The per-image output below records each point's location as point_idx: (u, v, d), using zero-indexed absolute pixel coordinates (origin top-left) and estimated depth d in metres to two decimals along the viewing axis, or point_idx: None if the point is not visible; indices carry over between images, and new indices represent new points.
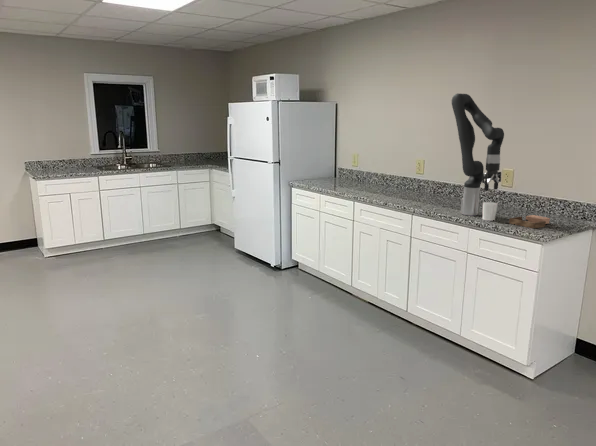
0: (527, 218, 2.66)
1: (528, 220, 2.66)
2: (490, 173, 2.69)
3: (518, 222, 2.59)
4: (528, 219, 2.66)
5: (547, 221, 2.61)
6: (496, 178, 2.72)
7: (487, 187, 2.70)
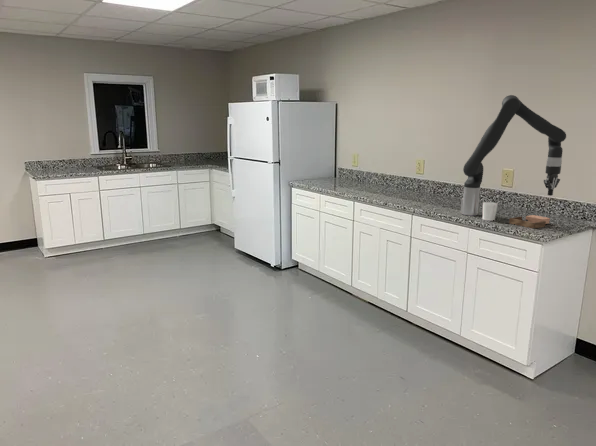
0: (527, 218, 2.66)
1: (528, 220, 2.66)
2: (550, 176, 2.62)
3: (518, 222, 2.59)
4: (528, 219, 2.66)
5: (547, 221, 2.61)
6: (554, 182, 2.64)
7: (551, 192, 2.65)
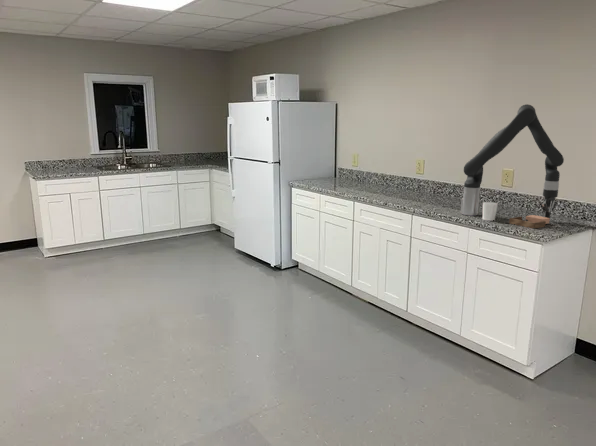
0: (527, 218, 2.66)
1: (528, 220, 2.66)
2: (548, 200, 2.64)
3: (518, 222, 2.59)
4: (528, 219, 2.66)
5: (547, 221, 2.61)
6: (552, 205, 2.67)
7: (548, 215, 2.68)
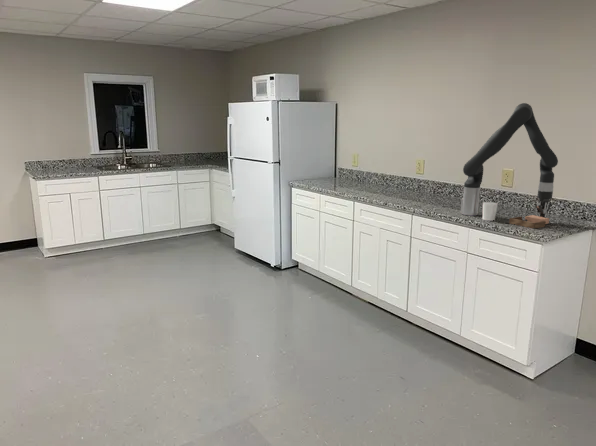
0: (526, 218, 2.66)
1: (527, 220, 2.65)
2: (542, 201, 2.62)
3: (518, 222, 2.59)
4: (527, 219, 2.66)
5: (547, 221, 2.61)
6: (546, 206, 2.65)
7: (543, 216, 2.66)
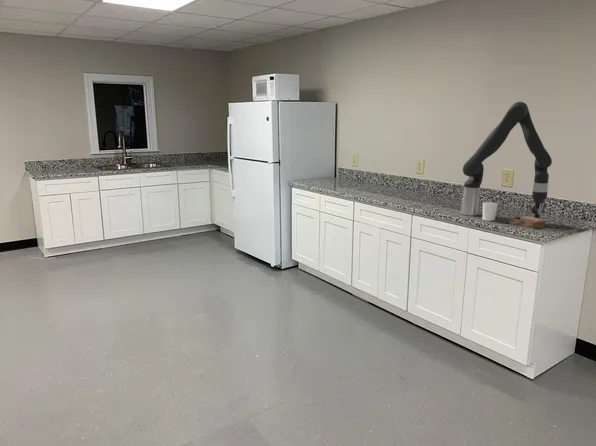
0: (521, 219, 2.63)
1: None
2: (537, 202, 2.59)
3: (518, 222, 2.59)
4: (522, 220, 2.63)
5: None
6: (541, 207, 2.62)
7: (537, 217, 2.63)
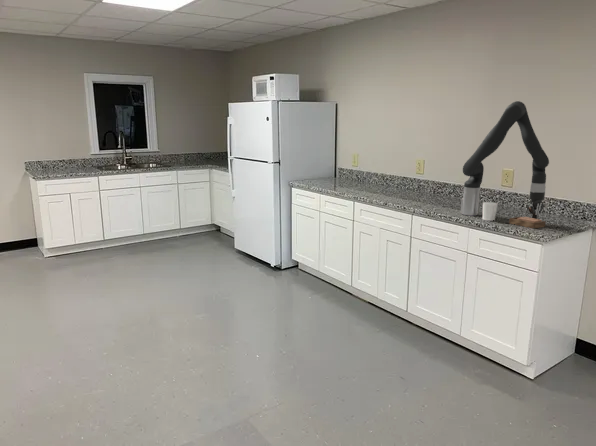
0: None
1: None
2: (534, 202, 2.58)
3: (518, 222, 2.59)
4: None
5: None
6: (538, 207, 2.60)
7: (535, 218, 2.61)
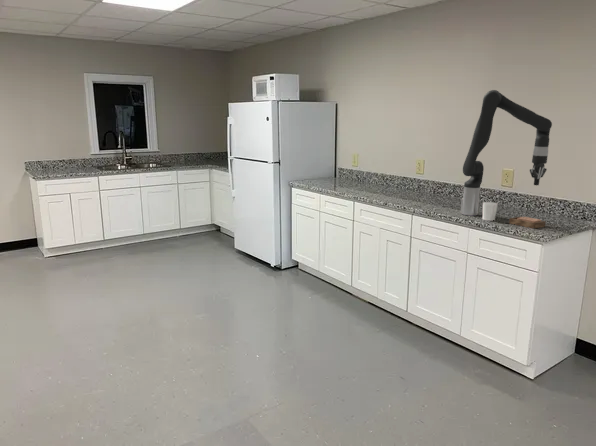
0: None
1: None
2: (537, 166, 2.59)
3: (518, 222, 2.59)
4: None
5: None
6: (541, 171, 2.61)
7: (537, 182, 2.62)
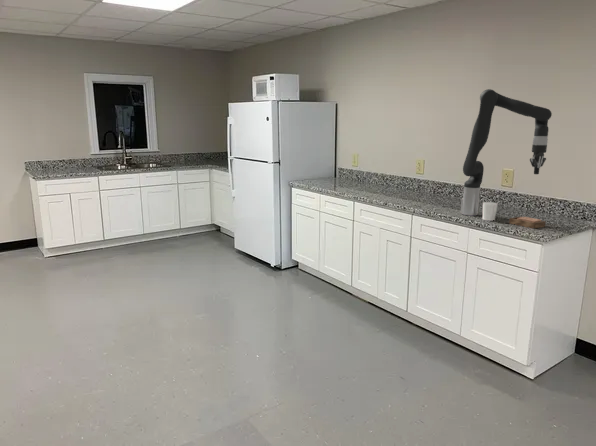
0: None
1: None
2: (536, 155, 2.64)
3: (518, 222, 2.59)
4: None
5: None
6: (540, 160, 2.66)
7: (537, 171, 2.68)
